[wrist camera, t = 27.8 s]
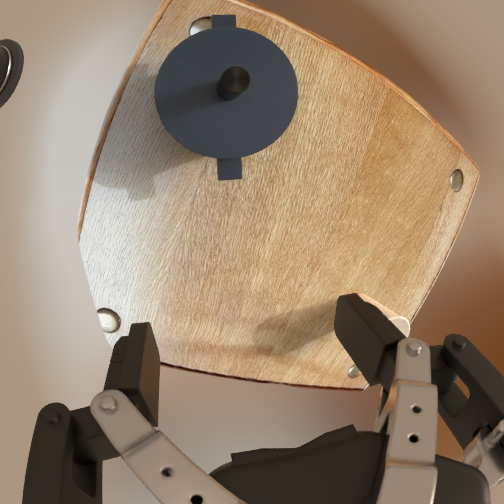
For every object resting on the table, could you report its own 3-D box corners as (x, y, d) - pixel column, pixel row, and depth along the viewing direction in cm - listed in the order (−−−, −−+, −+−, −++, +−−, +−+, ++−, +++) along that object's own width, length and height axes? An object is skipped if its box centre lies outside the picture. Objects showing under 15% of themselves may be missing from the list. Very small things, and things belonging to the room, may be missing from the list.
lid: (160, 164, 26) (152, 171, 21) (155, 35, 21) (147, 13, 15) (296, 155, 28) (320, 160, 23) (291, 33, 23) (313, 14, 18)
